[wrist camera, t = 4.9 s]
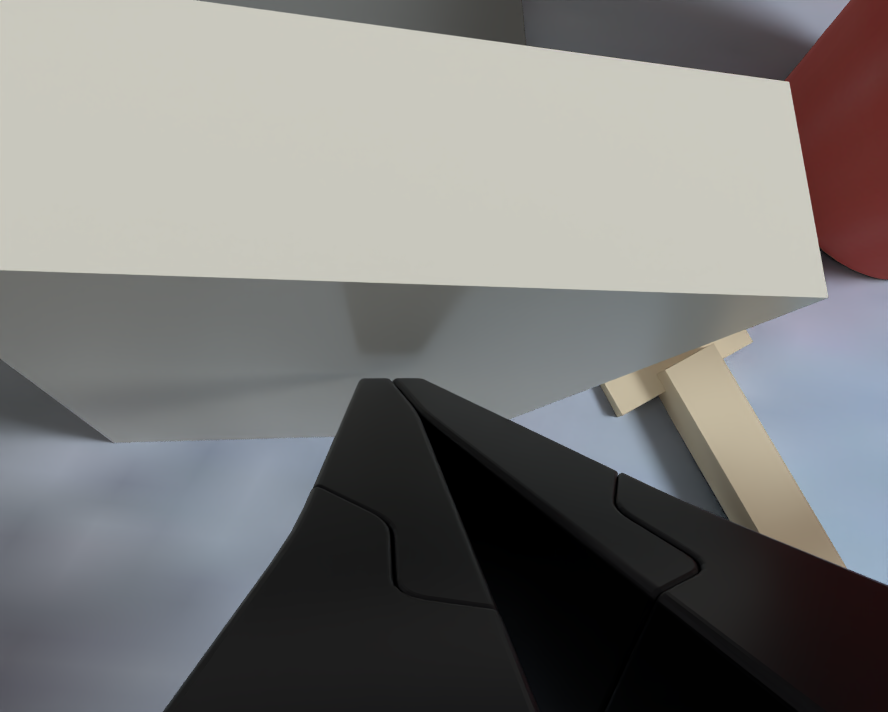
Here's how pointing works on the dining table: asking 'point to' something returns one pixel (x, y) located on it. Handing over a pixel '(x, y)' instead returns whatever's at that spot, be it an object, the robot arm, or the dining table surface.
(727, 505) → the spatula
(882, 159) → the flower pot
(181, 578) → the dining table surface
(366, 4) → the mat
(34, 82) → the tile
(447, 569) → the robot arm
